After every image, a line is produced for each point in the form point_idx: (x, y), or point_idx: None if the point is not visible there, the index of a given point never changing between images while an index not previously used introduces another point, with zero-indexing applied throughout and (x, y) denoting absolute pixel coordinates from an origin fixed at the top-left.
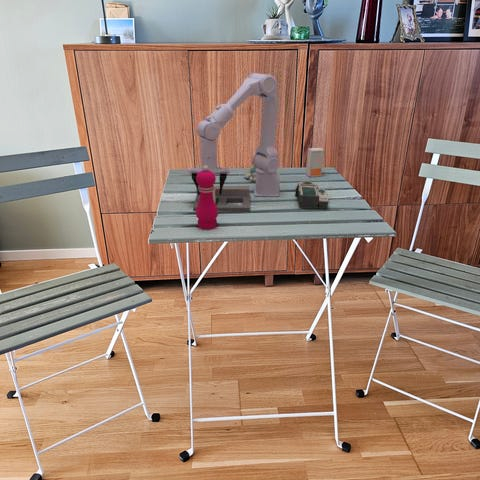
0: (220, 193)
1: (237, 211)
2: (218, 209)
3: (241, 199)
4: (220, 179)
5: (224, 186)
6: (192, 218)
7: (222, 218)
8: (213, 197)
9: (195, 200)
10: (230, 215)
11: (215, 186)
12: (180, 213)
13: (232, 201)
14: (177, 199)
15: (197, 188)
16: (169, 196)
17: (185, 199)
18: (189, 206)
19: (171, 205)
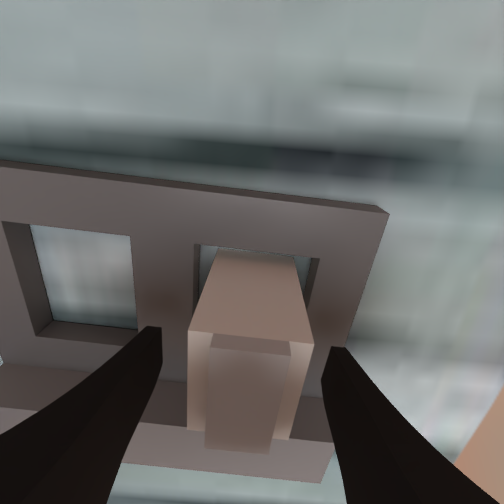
0: (147, 331)
1: (51, 166)
2: (188, 185)
3: (50, 332)
4: (2, 497)
5: (145, 456)
6: (416, 39)
7: (151, 15)
8: (215, 290)
9: (346, 332)
10: (92, 87)
11: (187, 428)
12: (483, 167)
13: (114, 328)
14: (431, 382)
15: (376, 393)
16: (463, 417)
17: (386, 378)
18: (385, 285)
19: (496, 309)
